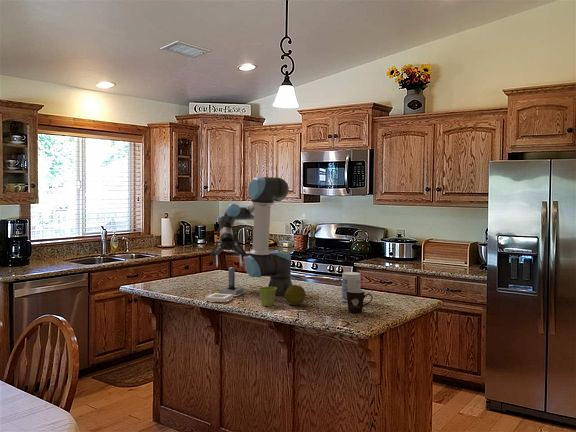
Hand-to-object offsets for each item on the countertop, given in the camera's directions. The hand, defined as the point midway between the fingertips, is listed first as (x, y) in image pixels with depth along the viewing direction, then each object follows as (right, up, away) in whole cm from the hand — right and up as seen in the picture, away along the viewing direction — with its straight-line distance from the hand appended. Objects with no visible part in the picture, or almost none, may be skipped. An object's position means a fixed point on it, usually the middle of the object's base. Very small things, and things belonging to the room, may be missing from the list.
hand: (229, 265), depth 295 cm
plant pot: (+23, -17, -34) cm, 45 cm away
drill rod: (+2, -16, -8) cm, 17 cm away
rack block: (-3, -16, -23) cm, 28 cm away
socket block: (+2, -16, -8) cm, 17 cm away
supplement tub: (+66, -16, -25) cm, 72 cm away
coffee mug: (+66, -18, -50) cm, 85 cm away
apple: (+37, -17, -34) cm, 53 cm away
